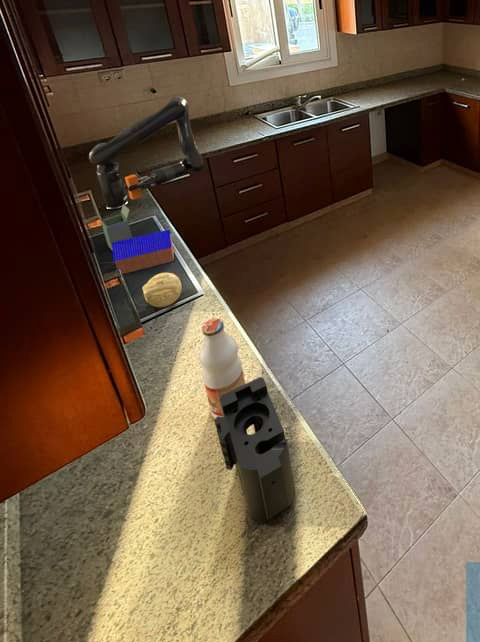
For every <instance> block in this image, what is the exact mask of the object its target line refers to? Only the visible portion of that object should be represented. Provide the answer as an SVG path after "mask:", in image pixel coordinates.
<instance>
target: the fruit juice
mask: <svg viewBox="0 0 480 642" xmlns="http://www.w3.org/2000/svg"><path fill="white" fill-rule="evenodd" d="M201 332H202V335H203V336H204V342H203V344H202V346H201V347H200V349H199V352H198V362H199V364H200V366H201V367H202V369H201V375H202V381H203V385H204V389H205V393H206V398H207V400H208V406H209V410H210V414H211V416H212V417H213V419H214V420H215V419H216V418H217V416H218V417H223V416H224V414H223V410H222V406H221V401H220V398H221V396H222V395H224V394H226V393H228V392H230V391H232V390H234V389H236V388H238V387H240V386H242V385H244V384H246V380H245V375H244V370H243V364H242V360H241V358H240V356H239V354H238V353H239V351H238V350H239V347H238V343H237V341H236V339H235V338H234V337H232V335H229V334H228V333H227V332H226V331H225V324H224V321H223V320H222V319H221V318H217V317H215V318H211V319H209V320H207V321H206V322H204V323H203V324H202V328H201Z"/></svg>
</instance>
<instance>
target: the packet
mask: <svg viewBox="0 0 480 642" xmlns="http://www.w3.org/2000/svg"><path fill="white" fill-rule="evenodd" d="M137 177H138V175H136V174H134V173H133V174H130V175H128V176H125V177H124V180H125V185H126V184H127V188H128V187H129V186H132V185H135V184H138V183H139V182H138V178H137ZM141 190H142V189H136V190H133V191H129V190H128V189H127V191H128V195H129V198H130V200H132V201H134V200H137V199H140V198H142V197H143V194H142V191H141Z"/></svg>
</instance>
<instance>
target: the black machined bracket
mask: <svg viewBox="0 0 480 642" xmlns="http://www.w3.org/2000/svg"><path fill="white" fill-rule="evenodd" d="M220 401H221V406H222V410H223V414H224V416H223V417H218V416H217V418H216V419H215V418H214V425H215V429H216V433H217V437H218V442H219V446H220V449H221V454H222V456H223V459H224V464H225V469H226V470H229V471H232V470H233V468H234V466H235V468H236V469H235V470H236V472H237V476H238V480H239V482H240V486H241V489H242V493H243V496H244V500H245V503H246V506H247V510H248V514H249V517H250V521H252V523H255V524H256V525H258V526H262V524H264V523H266V522H267V521H269V520H270V519H272V518H273V517H274V516H276V515H278V514H280V513H281V512H282V511H284V510H285V509H287V508H288V507H290V506H291V505H293V504H294V500H295V496H296V489H295V483H294V475H293V469H292V463H291V457H290V456H291V455H290V450H289V444H288V438H286V435H285V430H284V427H283V425H282V423H281V420H280V418H279V415H278V412H277V410H276V408H275V406H274V404H273V401H272V399H271V396H270V394H269V391H268V386H267V383H266V381H265V378H264V377H261V376H260V377H257V378H254V379H253V380H251V381H249V382H247V383H246V382H245V384H244V385H242V386H240V387H238V388H236V389H234V390H232V391H230V392H228V393H226V394H224V395H222V396H221V398H220ZM251 426H253V430H254V433H252V434H249V433H248V429H249V428H250V427H251Z"/></svg>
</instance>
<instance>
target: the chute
mask: <svg viewBox="0 0 480 642" xmlns="http://www.w3.org/2000/svg"><path fill="white" fill-rule="evenodd" d="M102 220H103V226H102V225H101V227H102V230H103V234H104V237H105V240H106V243H107V246H108V248H109V249H110V250H111V251H112V252H113V249H112V243H113V242H117V241H121V240H126V239H130V238H133V234H132V231H131V227H130V224H129V220H128V219H127V218H126V217H125V216H124V215H123V214H122V213H120V214H117V215H114V216H111V217H108V218H104V219H102Z"/></svg>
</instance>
